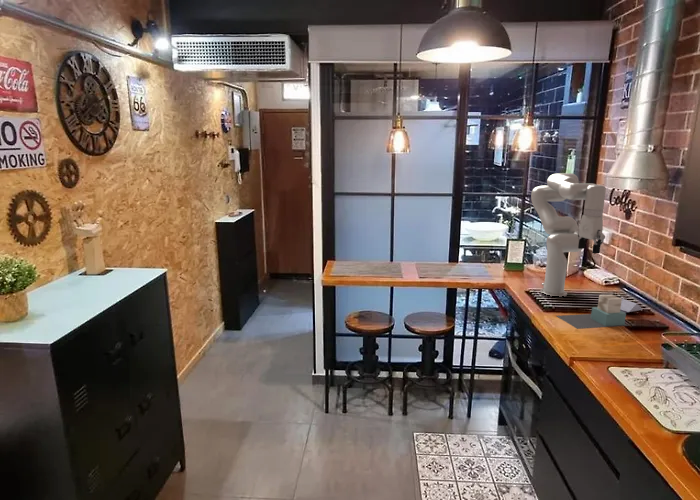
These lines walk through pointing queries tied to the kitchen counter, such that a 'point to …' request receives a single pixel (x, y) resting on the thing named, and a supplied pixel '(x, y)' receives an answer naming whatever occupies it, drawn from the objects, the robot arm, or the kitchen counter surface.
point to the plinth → (608, 317)
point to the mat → (583, 321)
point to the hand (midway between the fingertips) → (588, 250)
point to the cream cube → (609, 303)
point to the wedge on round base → (629, 306)
